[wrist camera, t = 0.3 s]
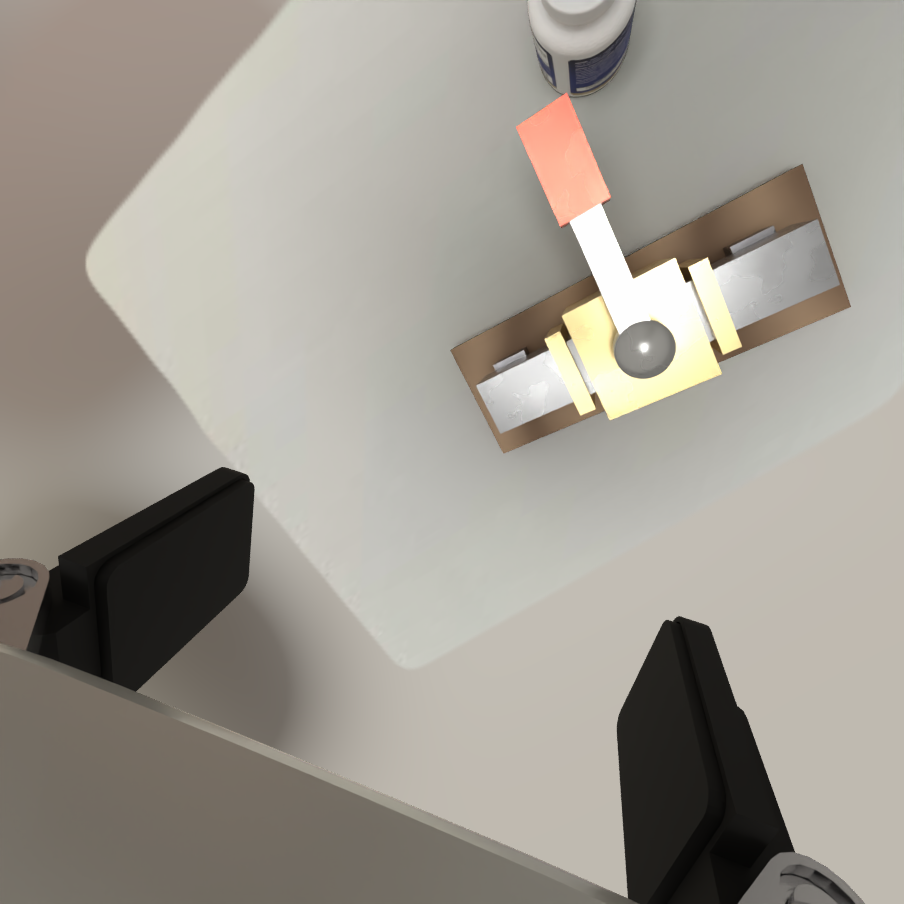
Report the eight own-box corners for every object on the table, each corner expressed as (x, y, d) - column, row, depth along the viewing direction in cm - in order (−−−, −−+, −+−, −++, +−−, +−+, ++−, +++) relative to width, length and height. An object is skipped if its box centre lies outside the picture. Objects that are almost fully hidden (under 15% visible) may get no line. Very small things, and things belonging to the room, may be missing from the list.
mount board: (792, 168, 31) (802, 163, 29) (839, 305, 32) (850, 306, 31) (455, 347, 39) (450, 350, 38) (506, 447, 41) (503, 453, 40)
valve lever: (678, 357, 28) (685, 363, 26) (625, 380, 29) (628, 388, 27) (572, 103, 25) (570, 89, 23) (517, 139, 26) (512, 129, 24)
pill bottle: (644, 6, 30) (670, -106, 21) (605, 110, 32) (613, 48, 23) (558, -19, 30) (547, -138, 21) (525, 84, 32) (503, 14, 24)
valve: (771, 201, 30) (820, 183, 24) (808, 306, 31) (864, 315, 25) (480, 351, 37) (459, 368, 31) (520, 431, 39) (508, 462, 32)
